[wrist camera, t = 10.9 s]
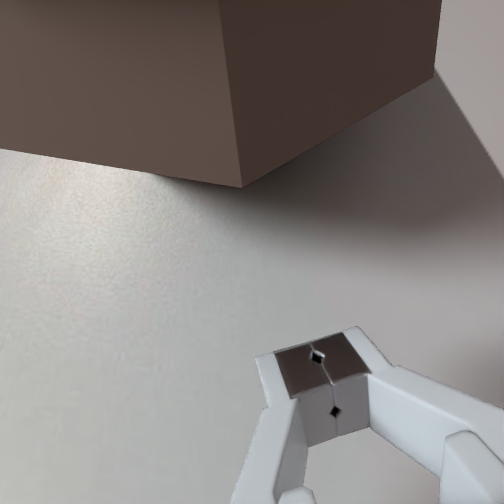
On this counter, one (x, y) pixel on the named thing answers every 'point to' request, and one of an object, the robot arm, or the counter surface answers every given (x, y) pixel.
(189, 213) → the counter surface
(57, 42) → the octagonal pot
